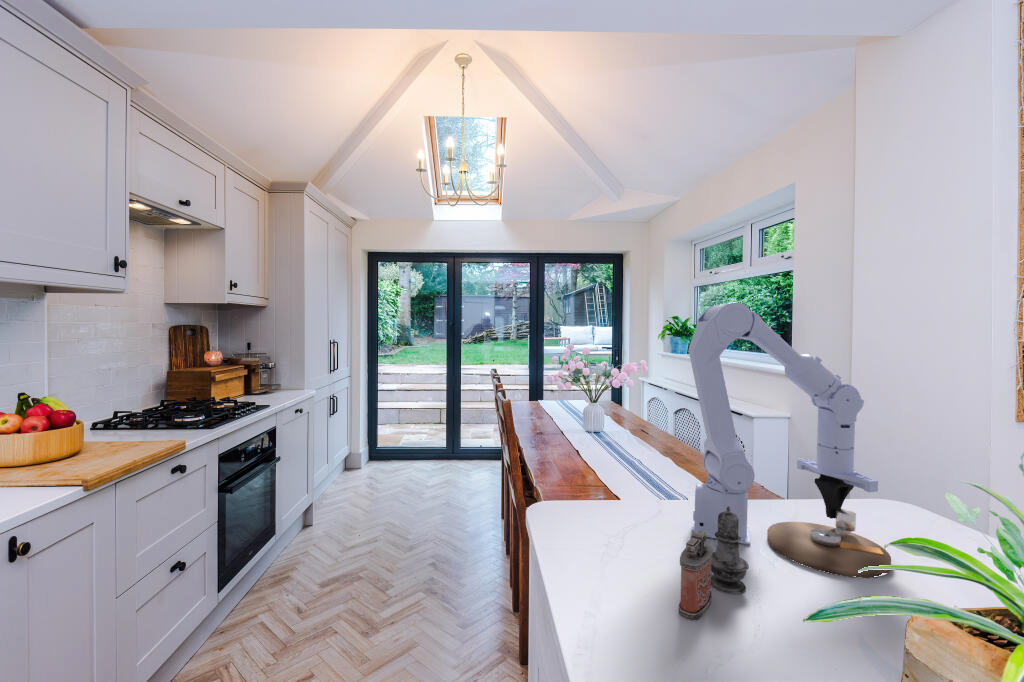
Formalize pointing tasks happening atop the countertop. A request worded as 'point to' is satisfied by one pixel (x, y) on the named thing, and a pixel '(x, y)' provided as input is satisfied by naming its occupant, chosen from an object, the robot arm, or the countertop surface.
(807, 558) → the dial plate
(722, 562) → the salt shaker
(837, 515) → the silver dumbbell
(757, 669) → the countertop surface
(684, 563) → the lighter
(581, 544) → the countertop surface
